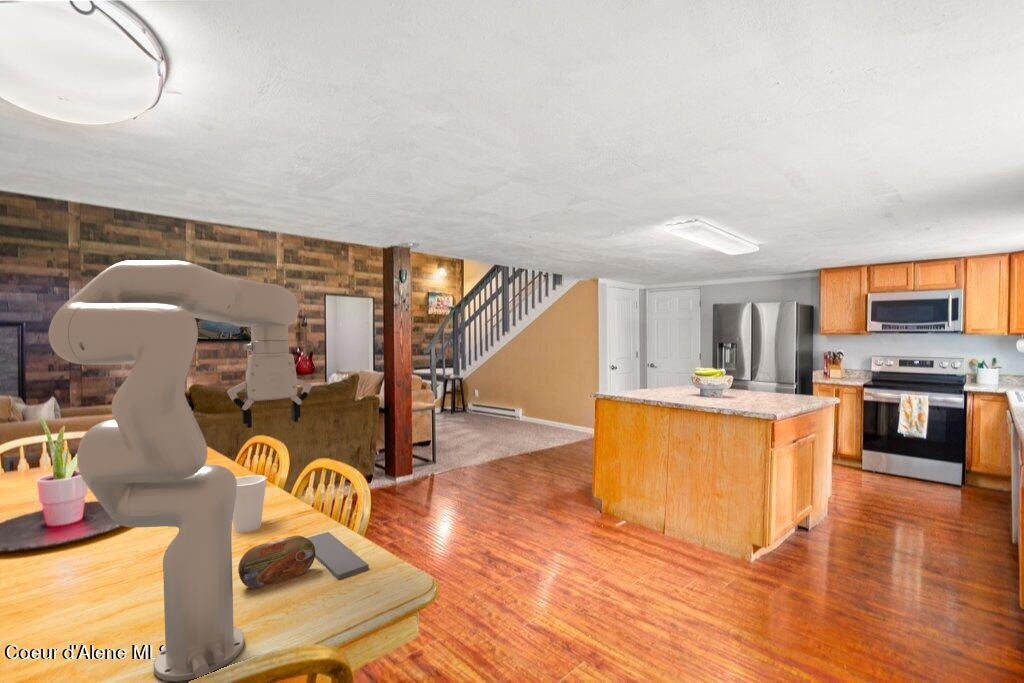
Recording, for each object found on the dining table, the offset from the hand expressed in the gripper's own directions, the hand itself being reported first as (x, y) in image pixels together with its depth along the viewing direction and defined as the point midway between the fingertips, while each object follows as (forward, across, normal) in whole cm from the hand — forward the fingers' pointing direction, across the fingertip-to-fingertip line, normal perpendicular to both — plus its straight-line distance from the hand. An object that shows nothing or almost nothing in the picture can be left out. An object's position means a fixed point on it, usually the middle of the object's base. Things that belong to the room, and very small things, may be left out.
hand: (272, 424), depth 111 cm
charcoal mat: (+32, +12, -4) cm, 35 cm away
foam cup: (+33, -1, +28) cm, 43 cm away
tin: (+33, -1, -7) cm, 34 cm away
